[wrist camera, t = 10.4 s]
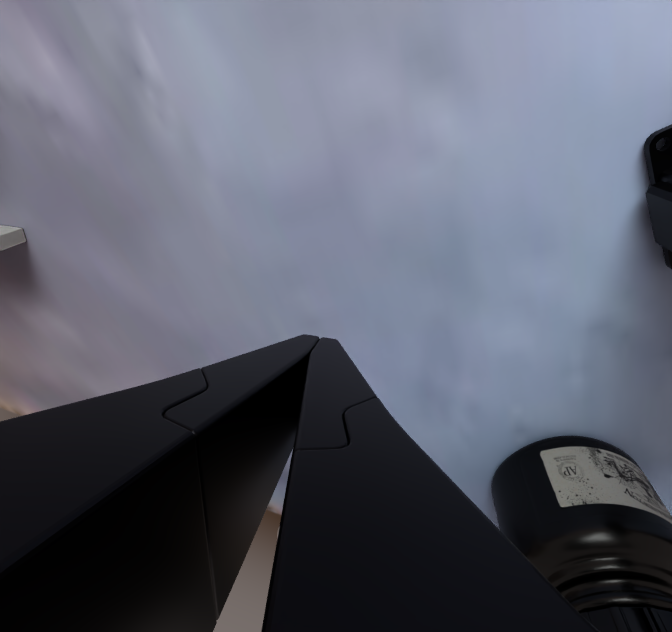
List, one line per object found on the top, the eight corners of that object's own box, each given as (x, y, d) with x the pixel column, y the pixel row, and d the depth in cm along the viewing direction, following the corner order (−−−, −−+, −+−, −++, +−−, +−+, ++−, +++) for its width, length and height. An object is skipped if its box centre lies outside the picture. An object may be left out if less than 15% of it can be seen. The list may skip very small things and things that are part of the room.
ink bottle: (676, 485, 25) (873, 764, 14) (560, 543, 29) (647, 793, 19) (563, 403, 23) (691, 651, 13) (457, 478, 27) (489, 711, 17)
